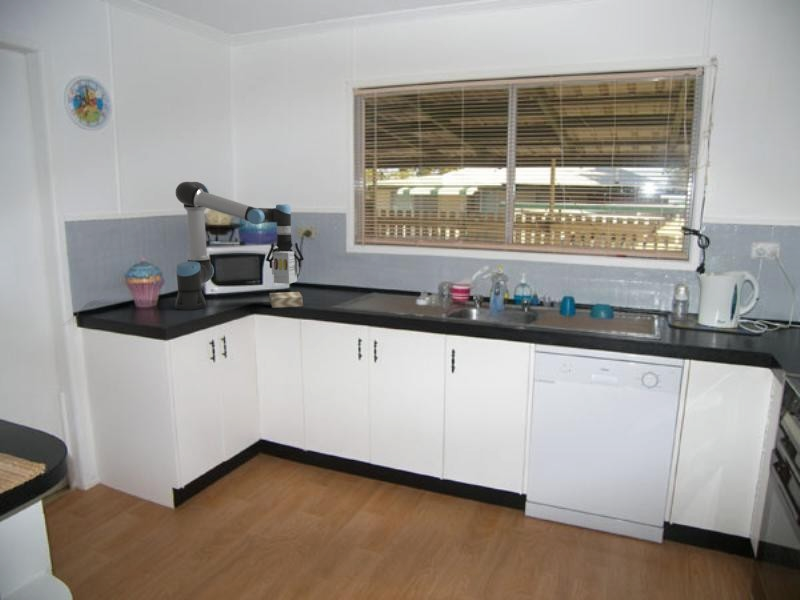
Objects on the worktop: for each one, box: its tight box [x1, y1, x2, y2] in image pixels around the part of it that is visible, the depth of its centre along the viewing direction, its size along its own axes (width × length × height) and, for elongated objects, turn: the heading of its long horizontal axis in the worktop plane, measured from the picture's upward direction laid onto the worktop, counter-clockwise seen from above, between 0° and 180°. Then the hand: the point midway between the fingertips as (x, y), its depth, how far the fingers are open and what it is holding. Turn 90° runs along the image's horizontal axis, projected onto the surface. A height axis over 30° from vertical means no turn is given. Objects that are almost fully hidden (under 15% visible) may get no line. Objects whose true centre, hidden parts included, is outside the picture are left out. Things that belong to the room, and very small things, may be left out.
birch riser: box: [269, 291, 304, 309], centre depth 307 cm, size 16×16×5 cm
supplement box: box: [272, 250, 298, 285], centre depth 303 cm, size 10×9×17 cm
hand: (285, 273), depth 304 cm, fingers closed on supplement box, 12 cm apart
